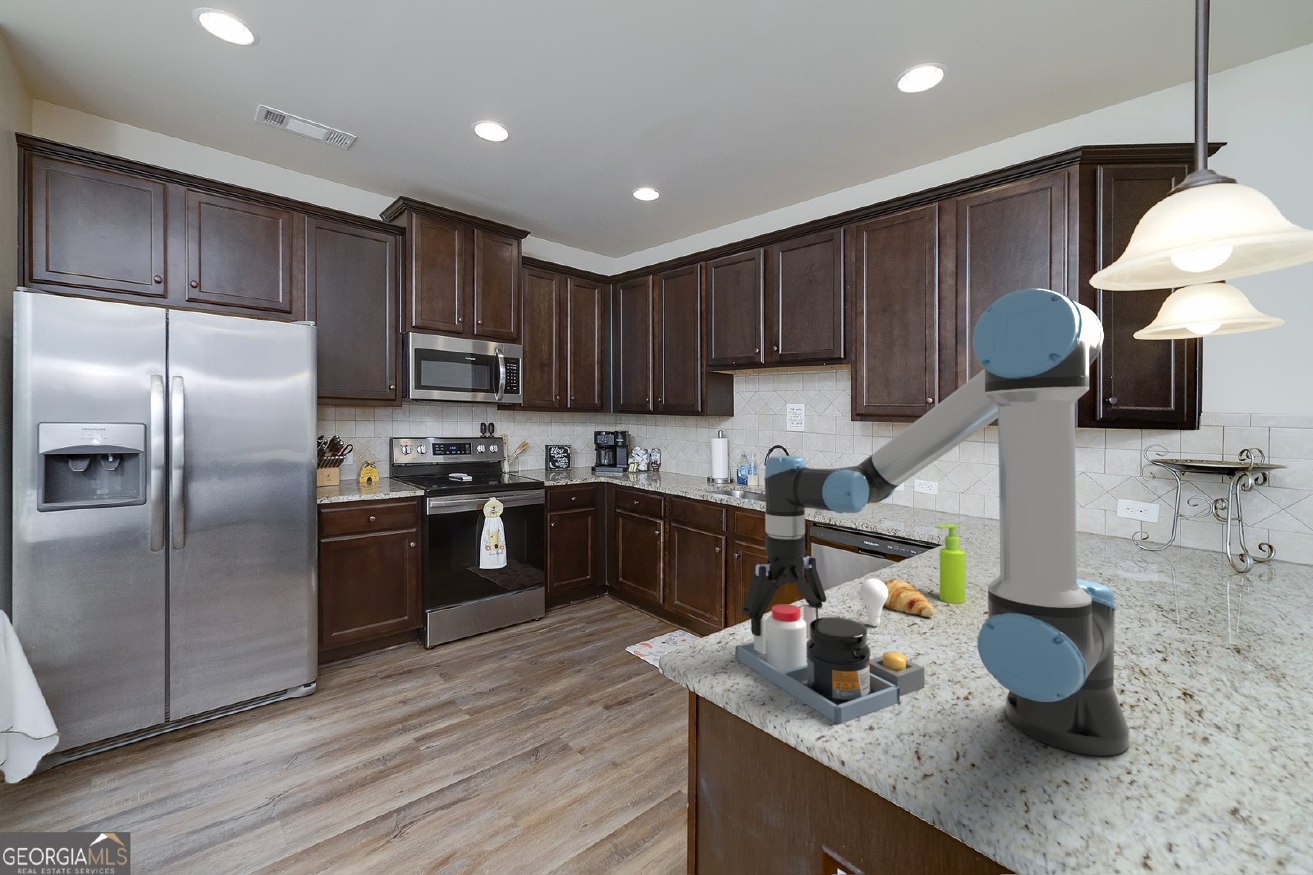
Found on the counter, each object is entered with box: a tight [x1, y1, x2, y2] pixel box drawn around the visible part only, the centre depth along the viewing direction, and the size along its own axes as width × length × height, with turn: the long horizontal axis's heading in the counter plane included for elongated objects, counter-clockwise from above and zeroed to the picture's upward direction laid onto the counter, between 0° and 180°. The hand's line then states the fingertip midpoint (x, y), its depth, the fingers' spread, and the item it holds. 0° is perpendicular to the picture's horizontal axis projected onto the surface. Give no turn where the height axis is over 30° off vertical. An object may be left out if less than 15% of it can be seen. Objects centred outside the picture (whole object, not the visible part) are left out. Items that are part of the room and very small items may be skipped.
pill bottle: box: [765, 603, 808, 672], centre depth 107 cm, size 8×8×11 cm
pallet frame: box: [734, 641, 901, 725], centre depth 101 cm, size 27×14×2 cm, turn 27°
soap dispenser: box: [935, 523, 966, 605], centre depth 143 cm, size 6×7×20 cm
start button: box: [882, 651, 907, 672], centre depth 98 cm, size 4×4×3 cm
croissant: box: [882, 578, 935, 618], centre depth 139 cm, size 21×10×8 cm, turn 22°
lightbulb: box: [859, 578, 888, 627], centre depth 126 cm, size 6×6×11 cm
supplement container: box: [806, 616, 871, 705], centre depth 95 cm, size 10×10×12 cm
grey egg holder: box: [870, 655, 925, 697], centre depth 98 cm, size 7×7×4 cm
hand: (785, 644), depth 107 cm, fingers open, 12 cm apart
